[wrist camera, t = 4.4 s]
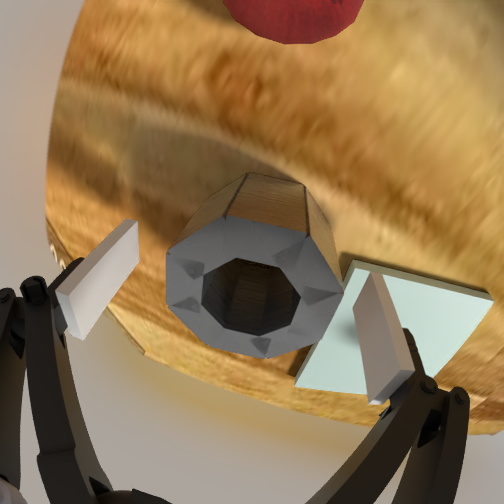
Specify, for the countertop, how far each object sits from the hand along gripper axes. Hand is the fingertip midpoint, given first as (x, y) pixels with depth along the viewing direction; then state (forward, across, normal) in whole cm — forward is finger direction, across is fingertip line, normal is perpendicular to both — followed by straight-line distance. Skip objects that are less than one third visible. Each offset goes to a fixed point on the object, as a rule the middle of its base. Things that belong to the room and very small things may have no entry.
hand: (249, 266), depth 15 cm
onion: (+3, -1, +14) cm, 15 cm away
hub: (+3, 0, 0) cm, 3 cm away
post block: (+3, +13, -7) cm, 15 cm away
